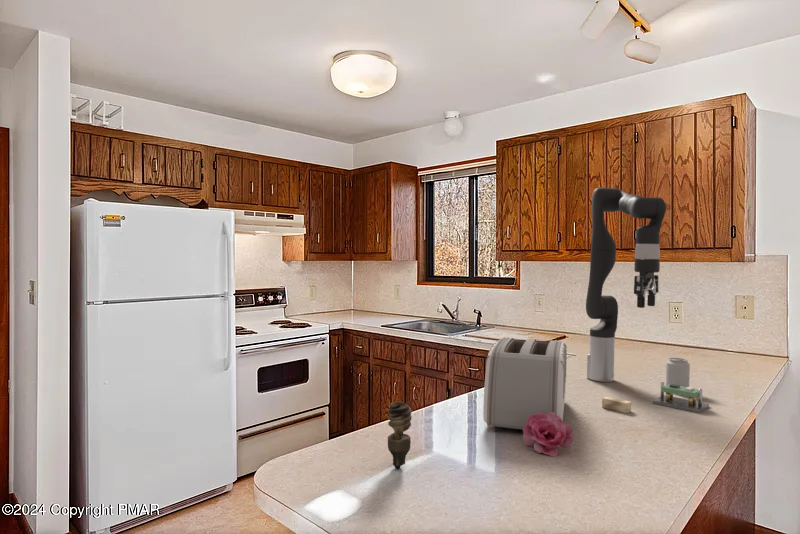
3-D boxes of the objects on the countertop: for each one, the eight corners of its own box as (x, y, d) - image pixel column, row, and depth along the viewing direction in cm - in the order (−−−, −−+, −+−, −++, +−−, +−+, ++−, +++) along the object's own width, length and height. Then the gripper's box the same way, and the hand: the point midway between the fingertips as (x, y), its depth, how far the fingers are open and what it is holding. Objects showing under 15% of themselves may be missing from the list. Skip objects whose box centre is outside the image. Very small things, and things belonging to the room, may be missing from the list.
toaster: (566, 398, 179) (567, 333, 178) (562, 442, 136) (564, 356, 136) (503, 392, 186) (504, 329, 185) (480, 432, 143) (482, 350, 143)
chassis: (652, 403, 173) (652, 383, 173) (663, 397, 180) (664, 379, 180) (699, 412, 163) (699, 392, 163) (709, 406, 170) (709, 386, 170)
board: (661, 391, 173) (661, 384, 173) (668, 388, 177) (668, 381, 177) (694, 397, 166) (694, 390, 166) (700, 394, 170) (701, 387, 170)
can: (692, 394, 185) (692, 361, 185) (669, 393, 186) (669, 360, 186) (685, 389, 192) (685, 357, 192) (663, 388, 194) (663, 356, 193)
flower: (559, 471, 125) (539, 440, 123) (532, 460, 134) (512, 431, 132) (587, 438, 129) (568, 407, 127) (558, 429, 138) (540, 400, 136)
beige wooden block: (602, 407, 168) (602, 398, 168) (606, 405, 170) (606, 396, 170) (627, 413, 162) (627, 403, 162) (631, 411, 164) (631, 401, 164)
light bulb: (386, 463, 121) (386, 398, 120) (409, 462, 121) (410, 398, 121) (387, 473, 115) (388, 405, 115) (412, 472, 116) (413, 405, 115)
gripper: (644, 257, 180) (643, 304, 180) (626, 257, 170) (625, 307, 171) (667, 258, 175) (666, 306, 175) (650, 257, 165) (649, 309, 165)
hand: (646, 306), depth 173 cm, fingers open, 8 cm apart
